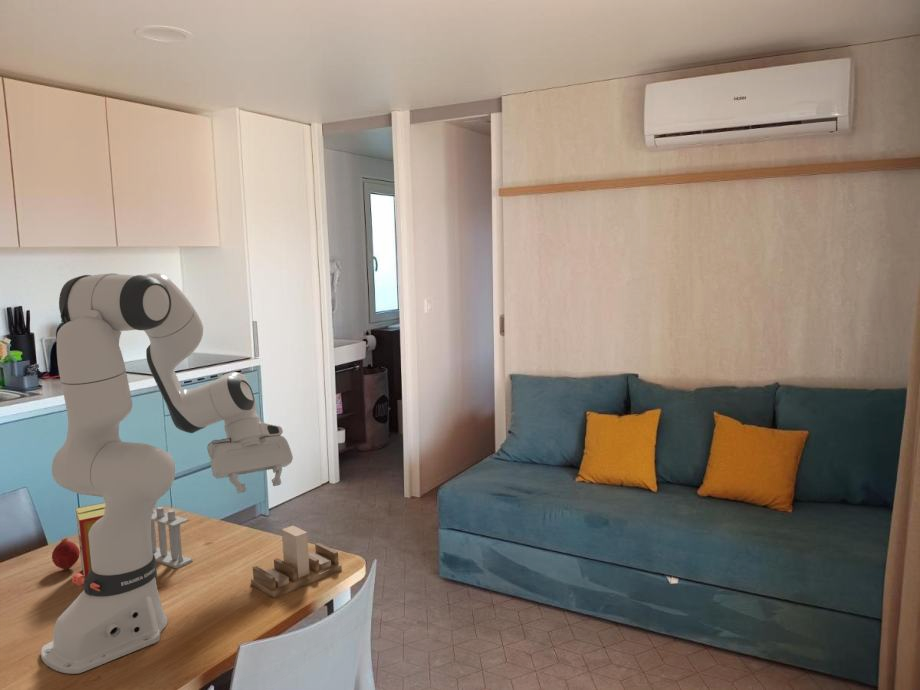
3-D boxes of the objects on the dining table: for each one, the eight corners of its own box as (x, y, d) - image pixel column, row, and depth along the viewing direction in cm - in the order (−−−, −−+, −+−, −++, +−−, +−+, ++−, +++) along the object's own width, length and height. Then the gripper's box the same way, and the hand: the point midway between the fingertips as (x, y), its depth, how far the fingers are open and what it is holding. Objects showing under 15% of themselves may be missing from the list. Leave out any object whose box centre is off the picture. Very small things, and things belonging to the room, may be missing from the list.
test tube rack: (116, 547, 180) (112, 498, 178) (132, 541, 184) (128, 493, 182) (176, 569, 167) (172, 516, 165) (192, 562, 170) (188, 510, 168)
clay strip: (298, 578, 157) (295, 536, 156) (284, 570, 162) (281, 529, 160) (309, 573, 160) (307, 532, 158) (295, 565, 164) (292, 525, 162)
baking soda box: (117, 577, 163) (110, 512, 161) (86, 585, 159) (79, 519, 157) (111, 562, 171) (105, 500, 168) (82, 570, 167) (75, 506, 165)
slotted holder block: (274, 598, 151) (273, 580, 150) (251, 583, 158) (249, 566, 157) (341, 569, 164) (340, 553, 163) (317, 557, 171) (316, 541, 170)
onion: (79, 572, 166) (75, 540, 165) (51, 577, 164) (48, 545, 163) (82, 562, 171) (79, 531, 170) (55, 566, 169) (52, 535, 168)
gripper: (210, 436, 163) (224, 492, 158) (287, 426, 177) (302, 477, 173) (200, 446, 167) (214, 500, 162) (276, 435, 181) (290, 485, 177)
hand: (260, 488), depth 168 cm, fingers open, 8 cm apart
